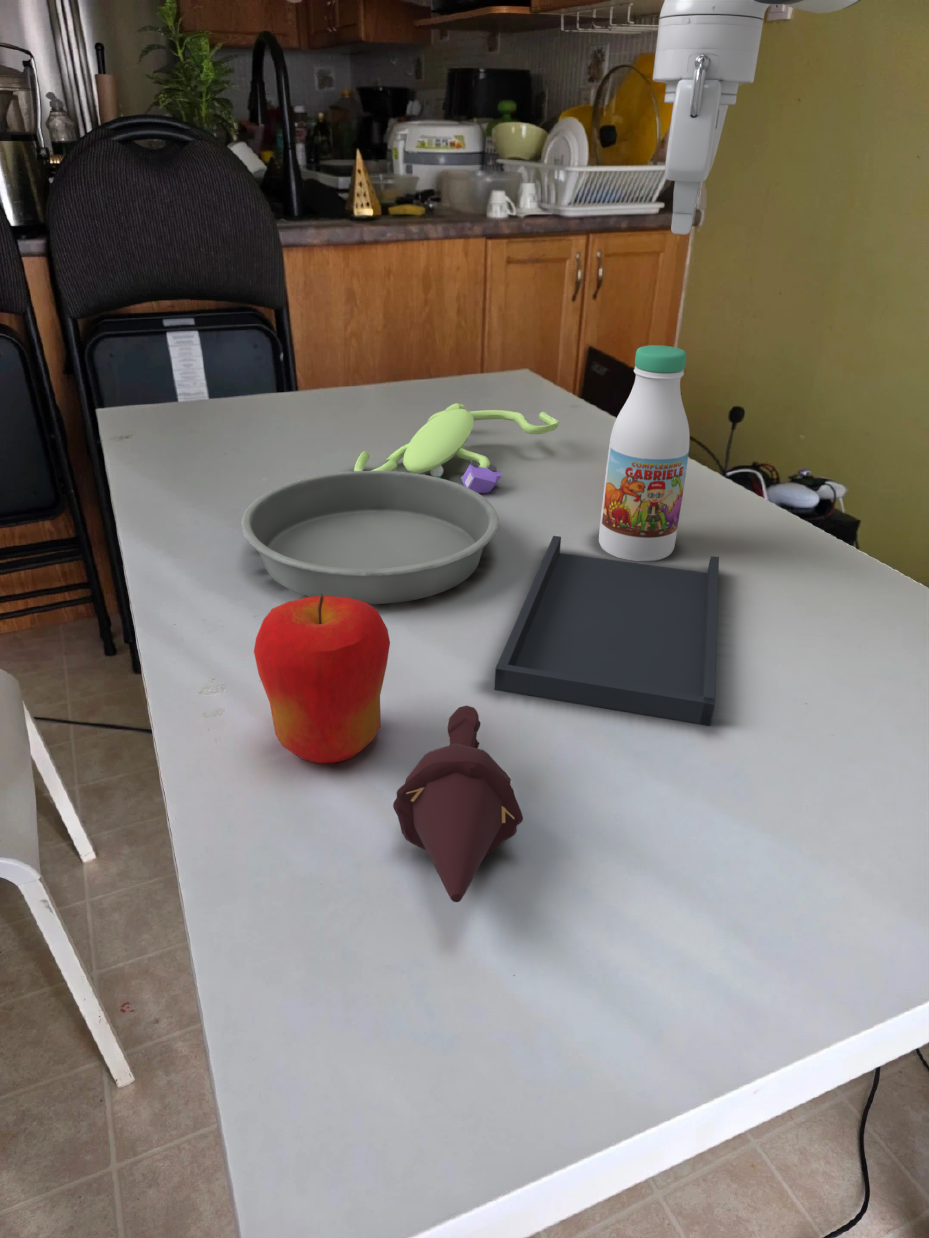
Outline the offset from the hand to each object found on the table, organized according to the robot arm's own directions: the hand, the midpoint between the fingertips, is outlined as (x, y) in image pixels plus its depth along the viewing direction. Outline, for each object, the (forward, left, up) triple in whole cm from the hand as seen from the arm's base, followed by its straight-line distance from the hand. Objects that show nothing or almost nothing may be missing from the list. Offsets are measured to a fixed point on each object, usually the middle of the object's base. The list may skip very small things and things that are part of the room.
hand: (682, 230), depth 85 cm
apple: (0, +52, -29) cm, 60 cm away
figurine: (+26, -1, -29) cm, 39 cm away
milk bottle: (-3, +9, -29) cm, 31 cm away
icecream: (-13, +55, -29) cm, 64 cm away
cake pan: (+17, +27, -29) cm, 43 cm away
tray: (-9, +26, -29) cm, 40 cm away
